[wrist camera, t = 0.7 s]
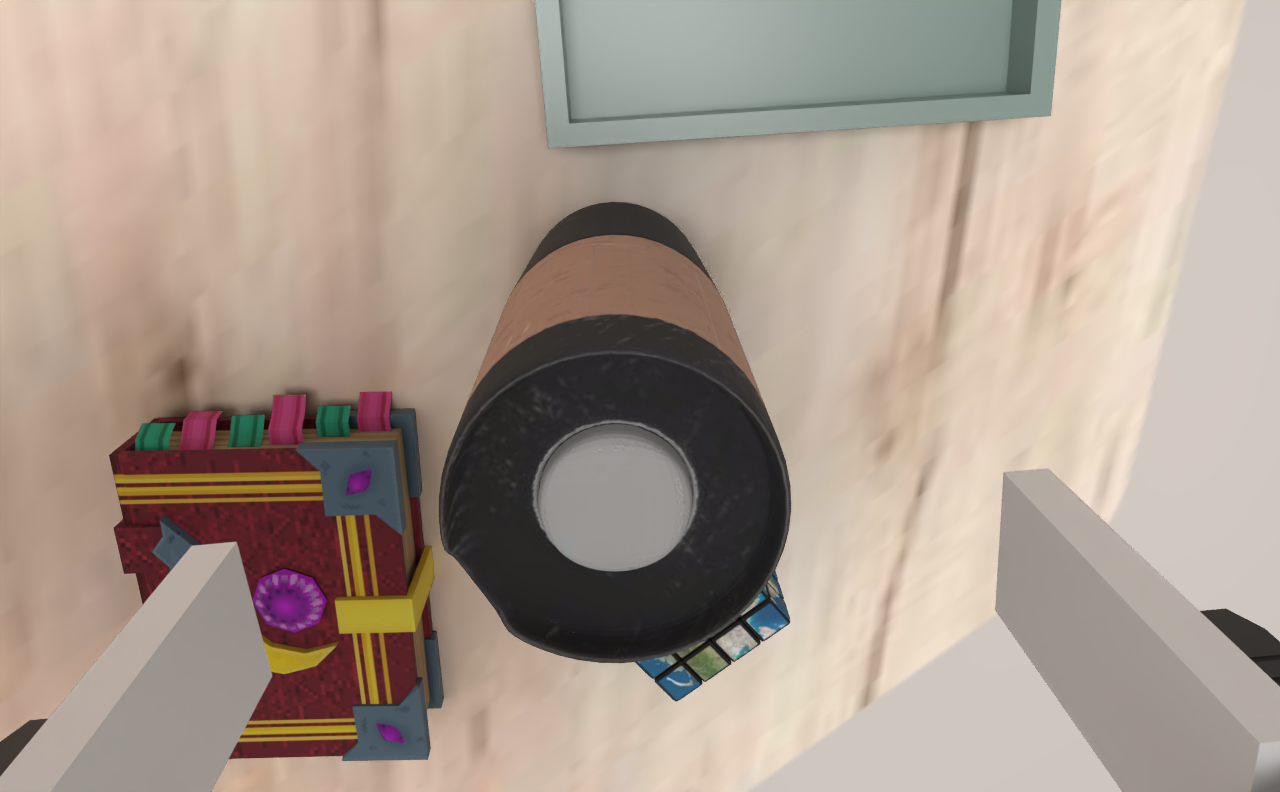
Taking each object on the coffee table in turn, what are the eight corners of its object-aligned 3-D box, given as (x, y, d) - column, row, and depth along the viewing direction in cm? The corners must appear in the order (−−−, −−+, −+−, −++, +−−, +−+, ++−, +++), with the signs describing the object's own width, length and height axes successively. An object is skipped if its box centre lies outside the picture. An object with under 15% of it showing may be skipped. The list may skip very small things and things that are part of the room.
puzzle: (687, 457, 41) (699, 522, 35) (769, 548, 43) (793, 623, 37) (584, 535, 42) (580, 610, 37) (668, 621, 44) (676, 705, 38)
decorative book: (211, 699, 45) (165, 774, 40) (147, 385, 39) (84, 430, 35) (447, 693, 45) (427, 768, 41) (416, 380, 40) (390, 425, 35)
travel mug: (730, 218, 37) (846, 388, 19) (682, 393, 40) (742, 697, 21) (542, 173, 37) (465, 303, 18) (506, 354, 39) (405, 635, 20)
